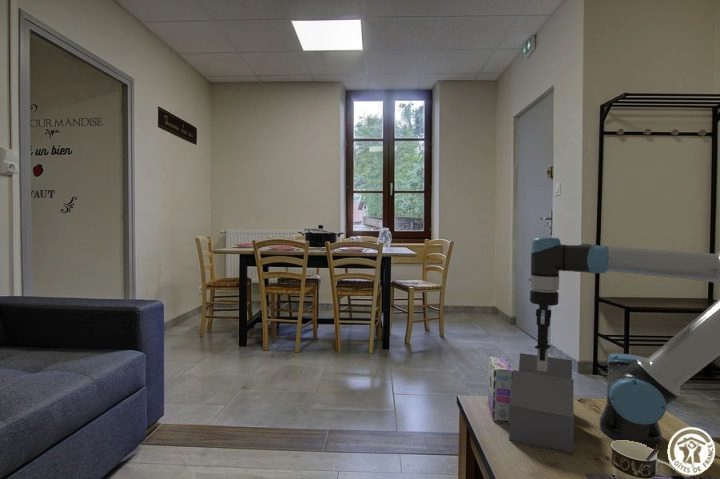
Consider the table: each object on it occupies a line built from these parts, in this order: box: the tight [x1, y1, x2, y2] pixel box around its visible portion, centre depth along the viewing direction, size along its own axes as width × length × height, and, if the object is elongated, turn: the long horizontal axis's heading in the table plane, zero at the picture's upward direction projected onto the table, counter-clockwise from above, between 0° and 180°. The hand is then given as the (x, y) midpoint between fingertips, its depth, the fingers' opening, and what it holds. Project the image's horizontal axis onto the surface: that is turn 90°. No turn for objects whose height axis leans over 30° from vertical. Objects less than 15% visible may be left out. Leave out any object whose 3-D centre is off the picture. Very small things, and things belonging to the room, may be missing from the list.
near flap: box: [510, 369, 575, 418], centre depth 111 cm, size 16×10×1 cm
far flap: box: [518, 352, 573, 379], centre depth 129 cm, size 16×10×1 cm
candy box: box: [487, 356, 514, 424], centre depth 130 cm, size 14×6×16 cm, turn 168°
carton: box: [508, 406, 575, 456], centre depth 118 cm, size 16×20×10 cm
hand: (542, 370), depth 117 cm, fingers closed
